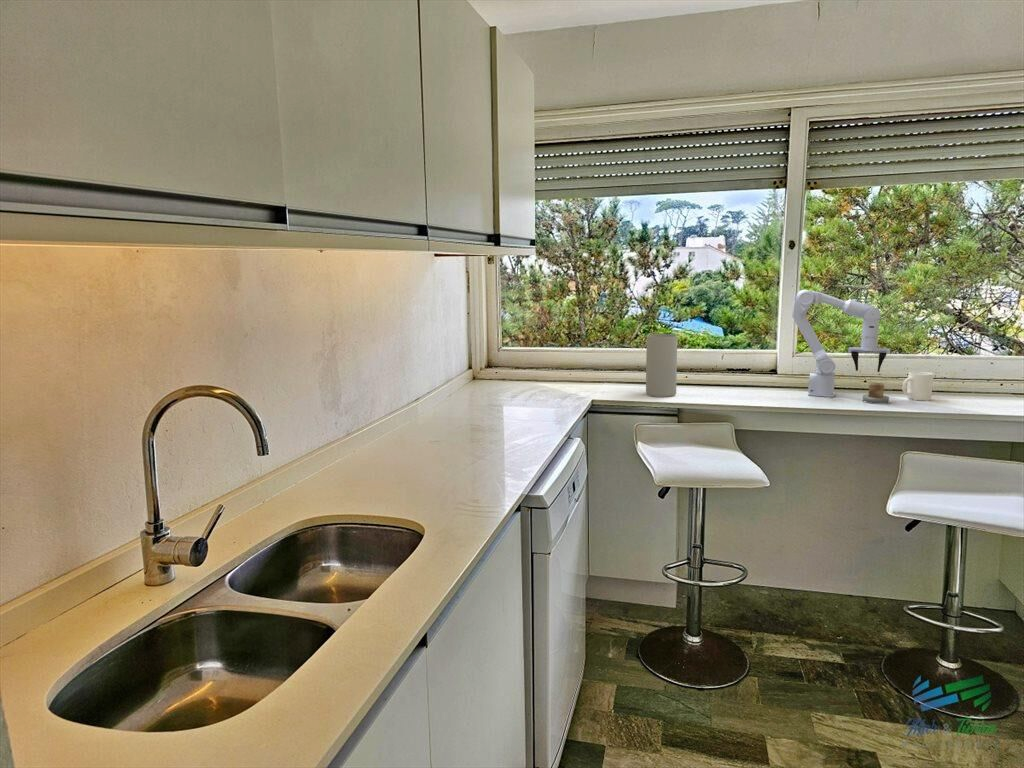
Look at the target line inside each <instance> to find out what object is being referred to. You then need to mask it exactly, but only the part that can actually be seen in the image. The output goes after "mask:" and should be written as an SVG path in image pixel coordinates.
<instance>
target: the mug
mask: <svg viewBox="0 0 1024 768" xmlns="http://www.w3.org/2000/svg"><path fill="white" fill-rule="evenodd" d="M933 381H934V373H932V372H928V371H909V372H908V375H907V378H905V379H904V380H903V382H902V386H901V390H902V393H903V394H904V395H905V396H906V398H907V399H908V398H909V399H908V400H910V399H913V400H912V401H916V400H928V401H930V400H932V391H933V384H934V383H933Z"/></svg>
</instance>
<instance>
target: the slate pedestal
mask: <svg viewBox="0 0 1024 768" xmlns="http://www.w3.org/2000/svg"><path fill="white" fill-rule="evenodd" d="M868 395H869V393H868V394H863V395H862V402H863V401H866V402H872V403H871V404H873V403H887V404H889V403H890V397H889V396H888V395H884V394H883V398H872V397H868ZM866 402H865V403H866ZM888 402H889V403H888Z"/></svg>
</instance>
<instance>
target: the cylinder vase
mask: <svg viewBox="0 0 1024 768" xmlns="http://www.w3.org/2000/svg"><path fill="white" fill-rule="evenodd" d="M645 347H646V352H645V353H646V355H645V356H646V357H645V358H646V360H645V362H646V363H645V376H646V377H645V393H646V395H647V396H649V397H656V398H670V397H675V395H677V378H678V377H677V376H678V375H677V374H678V373H677V372H678V371H677V370H678V334H670V333H653V334H647V335H646V346H645Z"/></svg>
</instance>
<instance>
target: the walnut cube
mask: <svg viewBox="0 0 1024 768" xmlns="http://www.w3.org/2000/svg"><path fill="white" fill-rule="evenodd" d="M884 390H885V383H884V382H869V385H868V394H869V395H868V397H872V398H883V395H884V393H885V391H884Z"/></svg>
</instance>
